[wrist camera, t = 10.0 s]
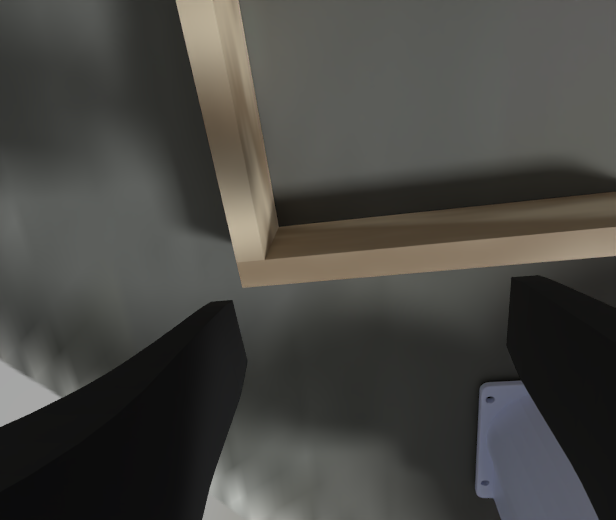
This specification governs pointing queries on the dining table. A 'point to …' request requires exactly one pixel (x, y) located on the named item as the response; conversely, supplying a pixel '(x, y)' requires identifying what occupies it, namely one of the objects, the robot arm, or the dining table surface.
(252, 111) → the crate
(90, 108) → the dining table surface
